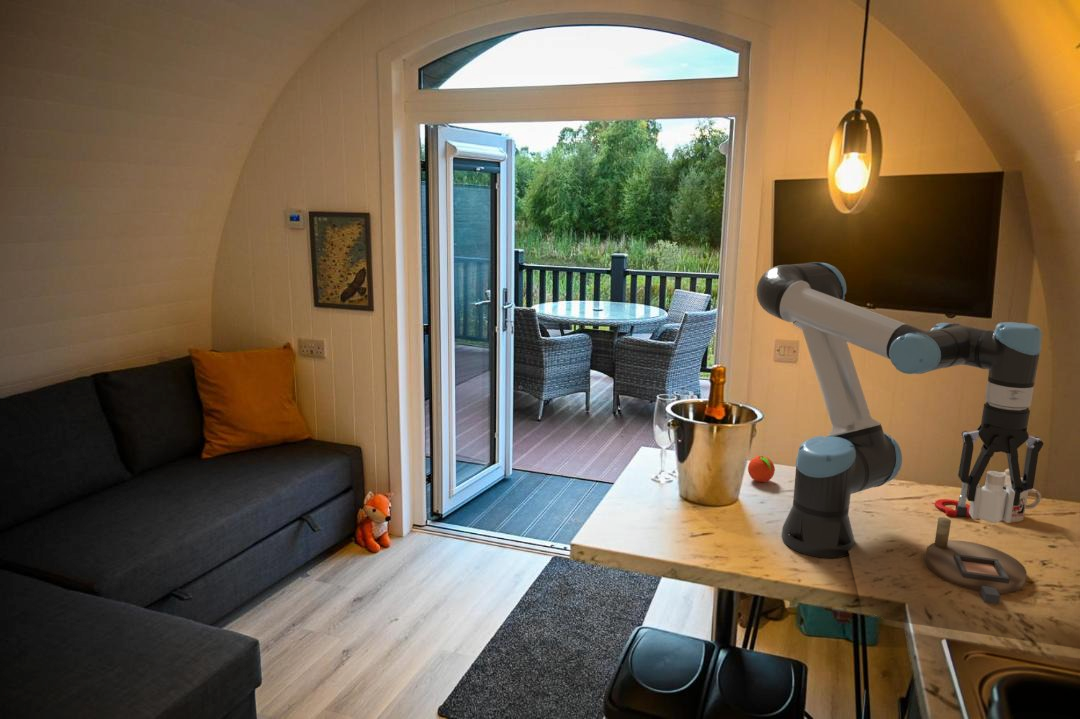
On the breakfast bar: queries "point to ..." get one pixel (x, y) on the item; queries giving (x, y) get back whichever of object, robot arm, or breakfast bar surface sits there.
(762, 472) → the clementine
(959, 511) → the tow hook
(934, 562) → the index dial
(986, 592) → the charcoal grey block
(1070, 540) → the breakfast bar surface
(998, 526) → the breakfast bar surface
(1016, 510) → the teacup with lid
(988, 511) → the pepper shaker
